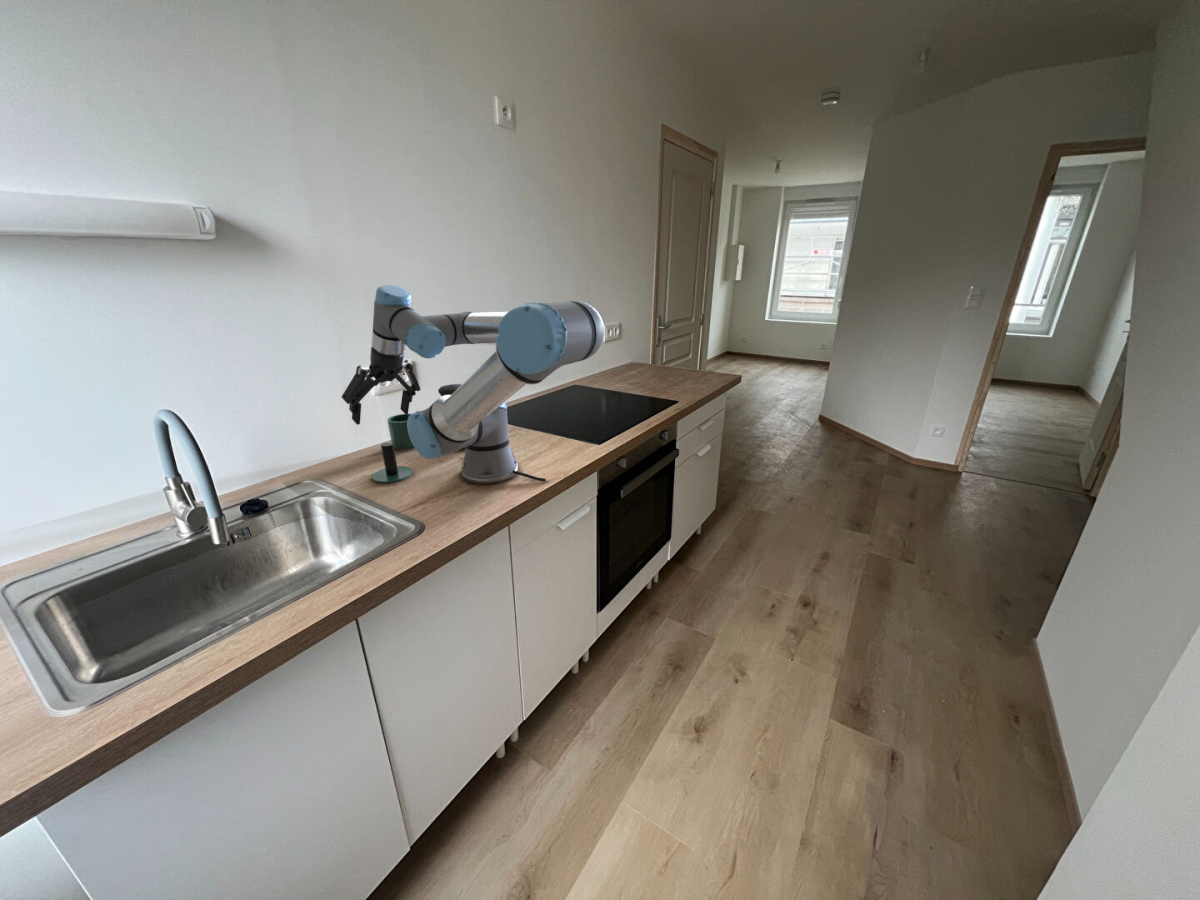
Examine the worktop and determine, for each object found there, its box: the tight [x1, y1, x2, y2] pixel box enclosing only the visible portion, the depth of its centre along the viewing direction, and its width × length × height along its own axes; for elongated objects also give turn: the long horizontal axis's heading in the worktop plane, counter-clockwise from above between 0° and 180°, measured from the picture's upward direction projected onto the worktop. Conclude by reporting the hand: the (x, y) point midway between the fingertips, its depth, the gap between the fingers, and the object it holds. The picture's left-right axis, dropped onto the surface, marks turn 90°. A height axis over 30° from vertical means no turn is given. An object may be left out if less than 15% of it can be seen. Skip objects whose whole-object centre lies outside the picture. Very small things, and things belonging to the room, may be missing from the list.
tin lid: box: [371, 441, 414, 484], centre depth 121 cm, size 10×10×10 cm
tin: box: [386, 413, 415, 450], centre depth 144 cm, size 9×9×10 cm
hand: (380, 416), depth 124 cm, fingers open, 13 cm apart
